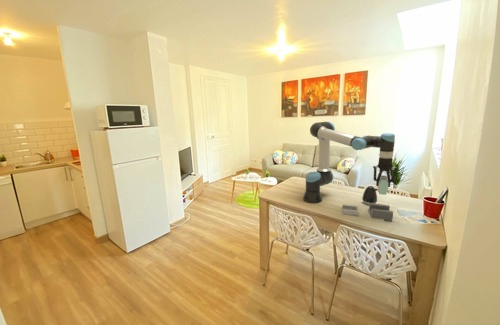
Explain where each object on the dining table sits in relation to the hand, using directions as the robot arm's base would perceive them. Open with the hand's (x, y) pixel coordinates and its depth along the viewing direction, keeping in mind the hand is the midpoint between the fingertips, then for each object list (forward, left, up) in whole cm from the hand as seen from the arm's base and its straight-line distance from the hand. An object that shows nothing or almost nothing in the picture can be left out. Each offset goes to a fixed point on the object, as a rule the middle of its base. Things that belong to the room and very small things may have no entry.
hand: (382, 190), depth 140 cm
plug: (0, 0, -2) cm, 2 cm away
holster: (-19, -1, -19) cm, 27 cm away
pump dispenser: (-4, +19, -19) cm, 27 cm away
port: (0, 0, -19) cm, 19 cm away
